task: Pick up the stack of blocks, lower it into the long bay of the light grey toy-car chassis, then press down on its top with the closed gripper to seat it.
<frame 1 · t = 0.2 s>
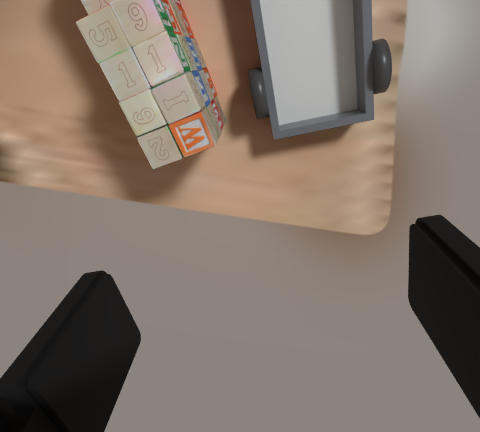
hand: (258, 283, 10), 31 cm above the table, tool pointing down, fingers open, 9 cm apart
stack of blocks: (164, 36, 34), on the table
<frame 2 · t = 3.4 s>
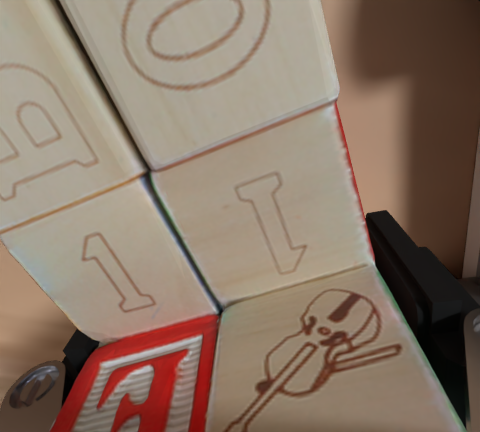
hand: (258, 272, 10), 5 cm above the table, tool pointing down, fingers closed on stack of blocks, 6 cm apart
stack of blocks: (253, 192, 15), on the table, touching gripper
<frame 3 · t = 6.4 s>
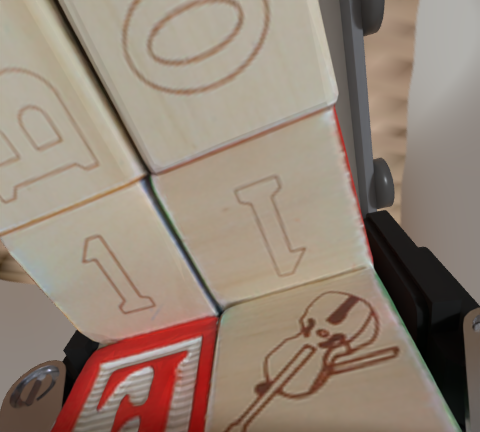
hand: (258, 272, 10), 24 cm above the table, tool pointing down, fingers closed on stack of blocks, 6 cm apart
chassis: (301, 115, 31), on the table
stack of blocks: (253, 193, 15), point 19 cm above the table, touching gripper
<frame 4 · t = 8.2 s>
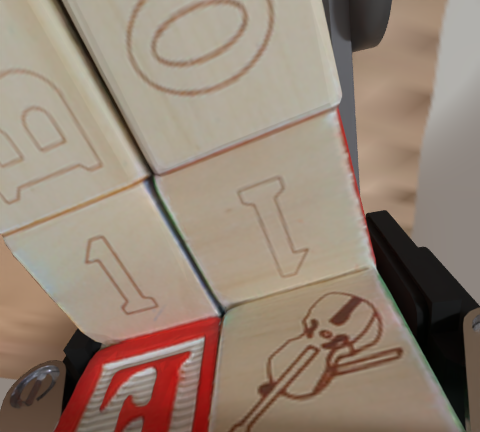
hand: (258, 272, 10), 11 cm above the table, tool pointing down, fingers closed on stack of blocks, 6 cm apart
chassis: (257, 166, 20), on the table
stack of blocks: (254, 193, 15), point 6 cm above the table, touching gripper
when the fingers open (7 cm above the table, at t = 9.6 s): stack of blocks stays where it is, resting on chassis.
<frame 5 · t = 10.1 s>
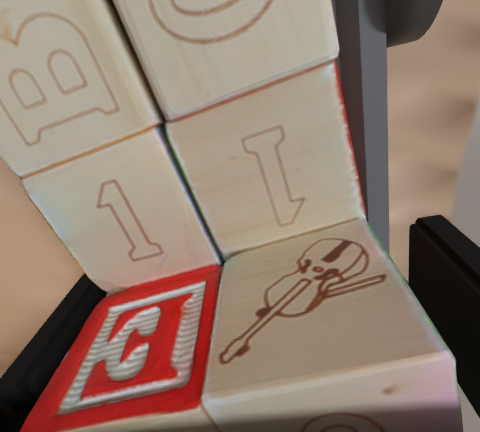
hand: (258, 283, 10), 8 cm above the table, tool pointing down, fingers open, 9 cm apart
chassis: (257, 189, 17), on the table
stack of blocks: (252, 176, 16), point 1 cm above the table, touching chassis
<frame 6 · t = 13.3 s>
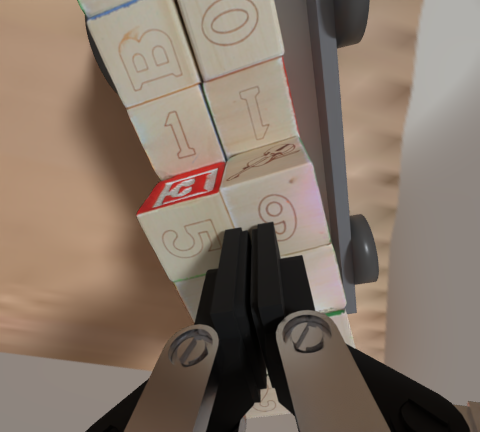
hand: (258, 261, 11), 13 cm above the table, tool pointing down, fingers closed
chassis: (256, 152, 23), on the table
stack of blocks: (245, 140, 21), point 1 cm above the table, touching chassis, gripper
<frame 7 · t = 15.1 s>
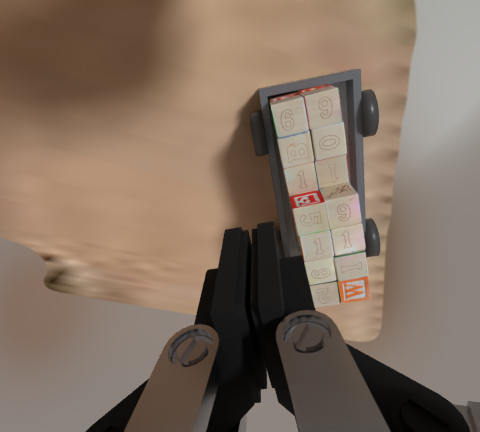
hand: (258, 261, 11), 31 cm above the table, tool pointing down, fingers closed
chassis: (313, 182, 41), on the table
stack of blocks: (308, 176, 40), point 1 cm above the table, touching chassis
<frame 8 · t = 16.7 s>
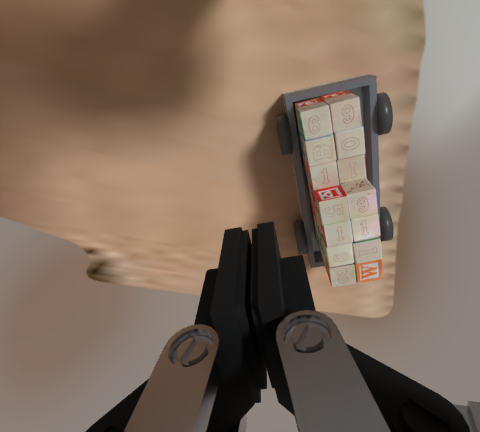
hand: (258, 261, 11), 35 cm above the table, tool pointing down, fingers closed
chassis: (332, 176, 46), on the table
stack of blocks: (325, 170, 45), point 1 cm above the table, touching chassis
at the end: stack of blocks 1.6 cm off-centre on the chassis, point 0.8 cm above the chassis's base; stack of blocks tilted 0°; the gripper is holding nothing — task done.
